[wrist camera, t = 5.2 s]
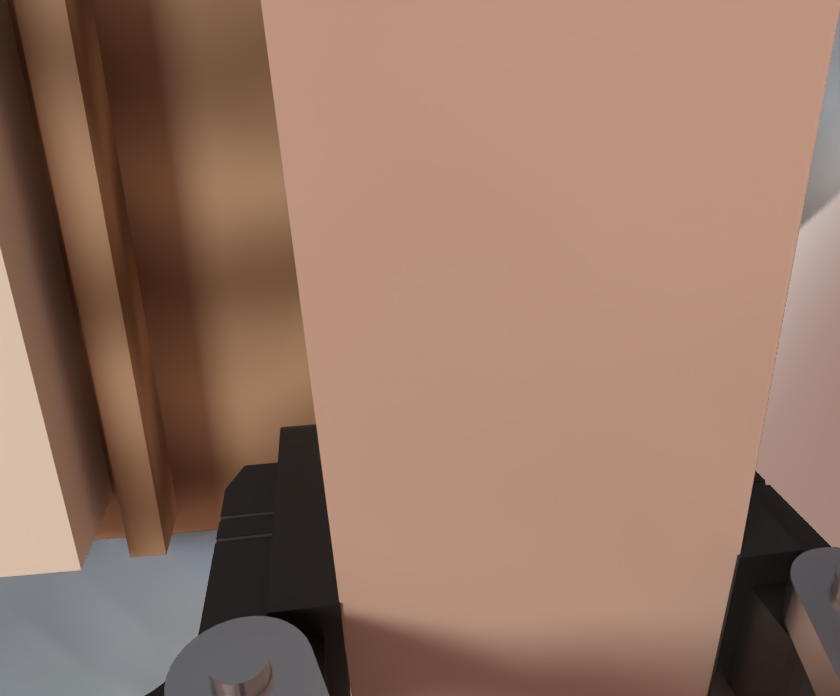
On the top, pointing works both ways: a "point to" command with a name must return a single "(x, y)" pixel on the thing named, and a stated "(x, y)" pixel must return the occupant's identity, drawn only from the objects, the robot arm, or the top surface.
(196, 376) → the rack
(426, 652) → the clay strip
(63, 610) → the top surface
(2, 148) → the strip
